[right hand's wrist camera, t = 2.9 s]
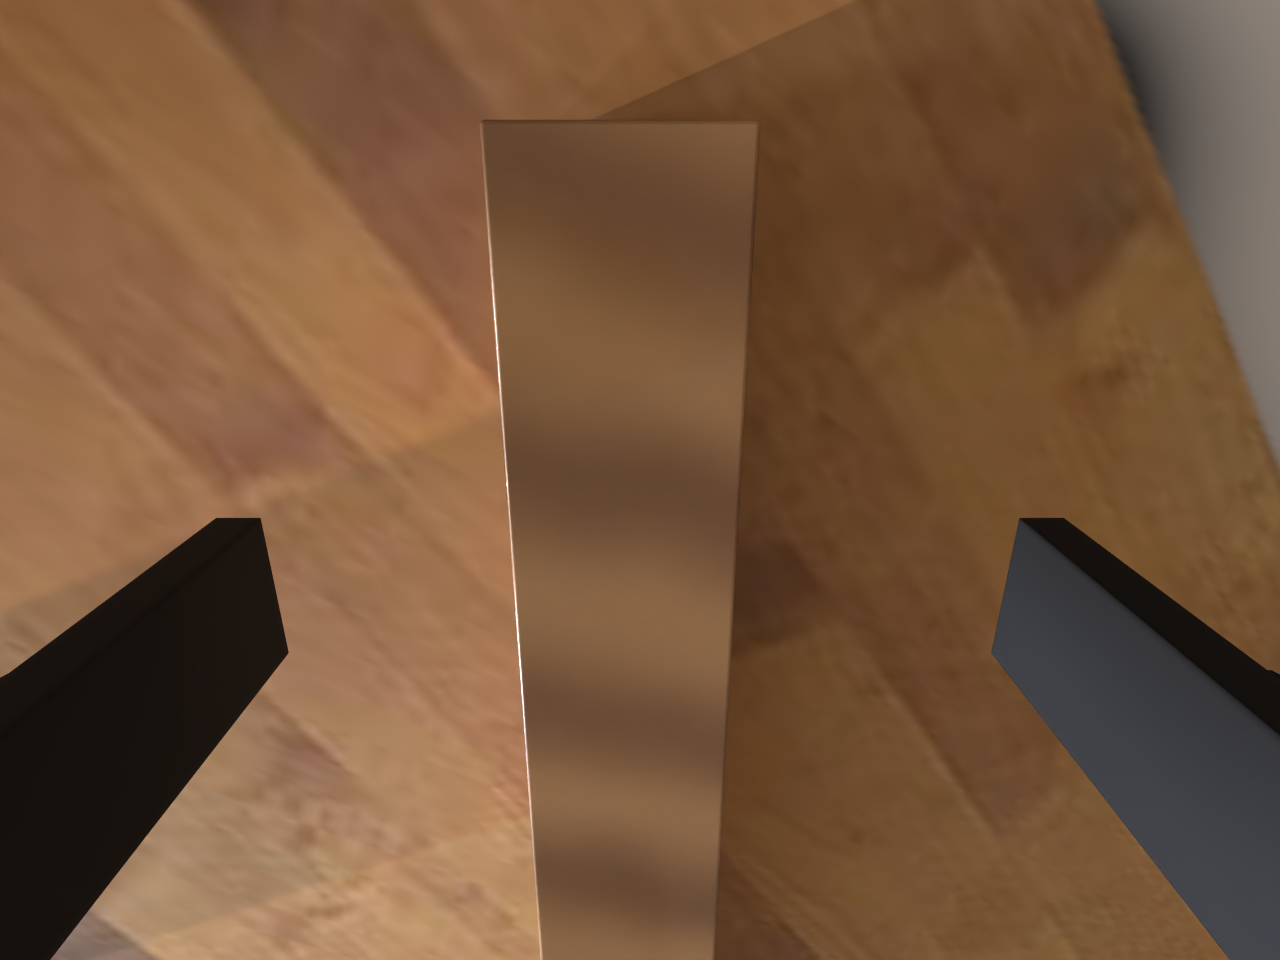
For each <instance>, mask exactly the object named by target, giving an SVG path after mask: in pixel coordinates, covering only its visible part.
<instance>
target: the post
mask: <svg viewBox="0 0 1280 960" xmlns="http://www.w3.org/2000/svg"><path fill="white" fill-rule="evenodd" d="M480 137H481V151H482V165H483V178H484V192H485V206H486V219H487V233H488V246H489V260H490V274H491V287H492V301H493V315H494V328H495V342H496V356H497V369H498V383H499V396H500V410H501V424H502V437H503V451H504V465H505V478H506V492H507V506H508V519H509V533H510V546H511V560H512V574H513V587H514V601H515V615H516V628H517V642H518V655H519V669H520V683H521V696H522V710H523V724H524V737H525V751H526V765H527V778H528V792H529V805H530V819H531V833H532V846H533V860H534V874H535V887H536V901H537V915H538V928H539V942H540V955H541V960H714V956H715V938H716V919H717V901H718V883H719V865H720V847H721V829H722V810H723V792H724V774H725V756H726V738H727V720H728V702H729V683H730V665H731V647H732V629H733V611H734V593H735V574H736V556H737V538H738V520H739V502H740V484H741V465H742V447H743V429H744V411H745V393H746V375H747V356H748V338H749V320H750V302H751V284H752V266H753V247H754V229H755V211H756V193H757V175H758V157H759V138H760V124H759V122H758V121H756V120H483V121H481V122H480Z"/></svg>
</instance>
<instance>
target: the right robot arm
mask: <svg viewBox="0 0 1280 960" xmlns="http://www.w3.org/2000/svg"><path fill="white" fill-rule="evenodd" d="M288 653H289V652H288V647H287V643H286V638H285V633H284V628H283V624H282V619H281V614H280V609H279V604H278V600H277V595H276V590H275V585H274V580H273V576H272V571H271V566H270V561H269V556H268V552H267V547H266V542H265V537H264V532H263V528H262V523H261V518H216V519H214V520H213V521H212V522H210V523H209V524H208V525H206V526H205V527H204V528H202V529H201V530H200V531H198V532H197V533H196V534H194V535H193V536H192V537H190V538H189V539H188V540H186V541H185V542H184V543H182V544H181V545H180V546H178V547H177V548H176V549H174V550H173V551H172V552H170V553H169V554H168V555H166V556H165V557H164V558H162V559H161V560H160V561H158V562H157V563H156V564H154V565H153V566H152V567H150V568H149V569H148V570H146V571H145V572H143V573H142V574H141V575H139V576H138V577H137V578H135V579H134V580H133V581H131V582H130V583H129V584H127V585H126V586H125V587H123V588H122V589H121V590H119V591H118V592H117V593H115V594H114V595H113V596H111V597H110V598H109V599H107V600H106V601H105V602H103V603H102V604H101V605H99V606H98V607H97V608H95V609H94V610H93V611H91V612H90V613H89V614H87V615H86V616H85V617H83V618H82V619H81V620H79V621H78V622H77V623H75V624H74V625H73V626H71V627H70V628H69V629H67V630H66V631H65V632H63V633H62V634H61V635H59V636H58V637H57V638H55V639H54V640H53V641H51V642H50V643H49V644H47V645H46V646H45V647H43V648H42V649H41V650H39V651H38V652H37V653H35V654H34V655H33V656H31V657H30V658H29V659H27V660H26V661H25V662H23V663H22V664H21V665H19V666H18V667H17V668H15V669H14V670H13V671H11V672H10V673H8V674H6V675H4V676H2V677H0V960H50V959H51V958H52V957H53V955H54V954H55V953H56V952H57V950H58V949H59V948H60V946H61V945H62V944H63V943H64V941H65V940H66V939H67V937H68V936H69V935H70V934H71V932H72V931H73V930H74V928H75V927H76V926H77V925H78V923H79V922H80V921H81V919H82V918H83V917H84V916H85V914H86V913H87V912H88V910H89V909H90V908H91V907H92V905H93V904H94V903H95V901H96V900H97V899H98V898H99V896H100V895H101V894H102V892H103V891H104V890H105V889H106V887H107V886H108V885H109V883H110V882H111V881H112V880H113V878H114V877H115V876H116V874H117V873H118V872H119V870H120V869H121V868H122V867H123V865H124V864H125V863H126V861H127V860H128V859H129V858H130V856H131V855H132V854H133V852H134V851H135V850H136V849H137V847H138V846H139V845H140V843H141V842H142V841H143V840H144V838H145V837H146V836H147V834H148V833H149V832H150V831H151V829H152V828H153V827H154V825H155V824H156V823H157V822H158V820H159V819H160V818H161V816H162V815H163V814H164V813H165V811H166V810H167V809H168V807H169V806H170V805H171V804H172V802H173V801H174V800H175V798H176V797H177V796H178V795H179V793H180V792H181V791H182V789H183V788H184V787H185V786H186V784H187V783H188V782H189V780H190V779H191V778H192V777H193V775H194V774H195V773H196V771H197V770H198V769H199V768H200V766H201V765H202V764H203V762H204V761H205V760H206V759H207V757H208V756H209V755H210V753H211V752H212V751H213V750H214V748H215V747H216V746H217V744H218V743H219V742H220V741H221V739H222V738H223V737H224V735H225V734H226V733H227V732H228V730H229V729H230V728H231V726H232V725H233V724H234V723H235V721H236V720H237V719H238V717H239V716H240V715H241V714H242V712H243V711H244V710H245V708H246V707H247V706H248V705H249V703H250V702H251V701H252V699H253V698H254V697H255V695H256V694H257V693H258V692H259V690H260V689H261V688H262V686H263V685H264V684H265V683H266V681H267V680H268V679H269V677H270V676H271V675H272V674H273V672H274V671H275V670H276V668H277V667H278V666H279V665H280V663H281V662H282V661H283V659H284V658H285V657H286V656H287V654H288ZM991 653H992V654H993V656H994V657H995V658H996V659H997V661H998V662H999V663H1000V665H1001V666H1002V667H1003V668H1004V670H1005V671H1006V672H1007V674H1008V675H1009V676H1010V677H1011V679H1012V680H1013V681H1014V683H1015V684H1016V685H1017V686H1018V688H1019V689H1020V690H1021V692H1022V693H1023V694H1024V695H1025V697H1026V698H1027V699H1028V701H1029V702H1030V703H1031V705H1032V706H1033V707H1034V708H1035V710H1036V711H1037V712H1038V714H1039V715H1040V716H1041V717H1042V719H1043V720H1044V721H1045V723H1046V724H1047V725H1048V726H1049V728H1050V729H1051V730H1052V732H1053V733H1054V734H1055V735H1056V737H1057V738H1058V739H1059V741H1060V742H1061V743H1062V744H1063V746H1064V747H1065V748H1066V750H1067V751H1068V752H1069V753H1070V755H1071V756H1072V757H1073V759H1074V760H1075V761H1076V762H1077V764H1078V765H1079V766H1080V768H1081V769H1082V770H1083V771H1084V773H1085V774H1086V775H1087V777H1088V778H1089V779H1090V780H1091V782H1092V783H1093V784H1094V786H1095V787H1096V788H1097V789H1098V791H1099V792H1100V793H1101V795H1102V796H1103V797H1104V798H1105V800H1106V801H1107V802H1108V804H1109V805H1110V806H1111V807H1112V809H1113V810H1114V811H1115V813H1116V814H1117V815H1118V816H1119V818H1120V819H1121V820H1122V822H1123V823H1124V824H1125V825H1126V827H1127V828H1128V829H1129V831H1130V832H1131V833H1132V834H1133V836H1134V837H1135V838H1136V840H1137V841H1138V842H1139V843H1140V845H1141V846H1142V847H1143V849H1144V850H1145V851H1146V852H1147V854H1148V855H1149V856H1150V858H1151V859H1152V860H1153V861H1154V863H1155V864H1156V865H1157V867H1158V868H1159V869H1160V870H1161V872H1162V873H1163V874H1164V876H1165V877H1166V878H1167V879H1168V881H1169V882H1170V883H1171V885H1172V886H1173V887H1174V889H1175V890H1176V891H1177V892H1178V894H1179V895H1180V896H1181V898H1182V899H1183V900H1184V901H1185V903H1186V904H1187V905H1188V907H1189V908H1190V909H1191V910H1192V912H1193V913H1194V914H1195V916H1196V917H1197V918H1198V919H1199V921H1200V922H1201V923H1202V925H1203V926H1204V927H1205V928H1206V930H1207V931H1208V932H1209V934H1210V935H1211V936H1212V937H1213V939H1214V940H1215V941H1216V943H1217V944H1218V945H1219V946H1220V948H1221V949H1222V950H1223V952H1224V953H1225V954H1226V955H1227V957H1228V958H1229V959H1230V960H1280V674H1278V673H1276V672H1274V671H1272V670H1266V669H1265V668H1263V667H1262V666H1261V665H1259V664H1258V663H1257V662H1255V661H1254V660H1253V659H1251V658H1250V657H1249V656H1247V655H1246V654H1245V653H1243V652H1242V651H1241V650H1239V649H1238V648H1237V647H1235V646H1234V645H1233V644H1231V643H1230V642H1229V641H1227V640H1226V639H1225V638H1223V637H1222V636H1221V635H1219V634H1218V633H1217V632H1215V631H1214V630H1213V629H1211V628H1210V627H1209V626H1207V625H1206V624H1205V623H1203V622H1202V621H1201V620H1199V619H1198V618H1197V617H1195V616H1194V615H1193V614H1191V613H1190V612H1189V611H1187V610H1186V609H1185V608H1183V607H1182V606H1181V605H1179V604H1178V603H1177V602H1175V601H1174V600H1173V599H1171V598H1170V597H1169V596H1167V595H1166V594H1165V593H1163V592H1162V591H1161V590H1159V589H1158V588H1157V587H1155V586H1154V585H1153V584H1151V583H1150V582H1149V581H1147V580H1146V579H1145V578H1143V577H1142V576H1141V575H1139V574H1138V573H1137V572H1135V571H1134V570H1132V569H1131V568H1130V567H1128V566H1127V565H1126V564H1124V563H1123V562H1122V561H1120V560H1119V559H1118V558H1116V557H1115V556H1114V555H1112V554H1111V553H1110V552H1108V551H1107V550H1106V549H1104V548H1103V547H1102V546H1100V545H1099V544H1098V543H1096V542H1095V541H1094V540H1092V539H1091V538H1090V537H1088V536H1087V535H1086V534H1084V533H1083V532H1082V531H1080V530H1079V529H1078V528H1076V527H1075V526H1074V525H1072V524H1071V523H1070V522H1068V521H1067V520H1066V519H1064V518H1019V523H1018V528H1017V532H1016V537H1015V542H1014V547H1013V552H1012V556H1011V561H1010V566H1009V571H1008V576H1007V580H1006V585H1005V590H1004V595H1003V600H1002V604H1001V609H1000V614H999V619H998V624H997V628H996V633H995V638H994V643H993V647H992V652H991Z"/></svg>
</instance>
